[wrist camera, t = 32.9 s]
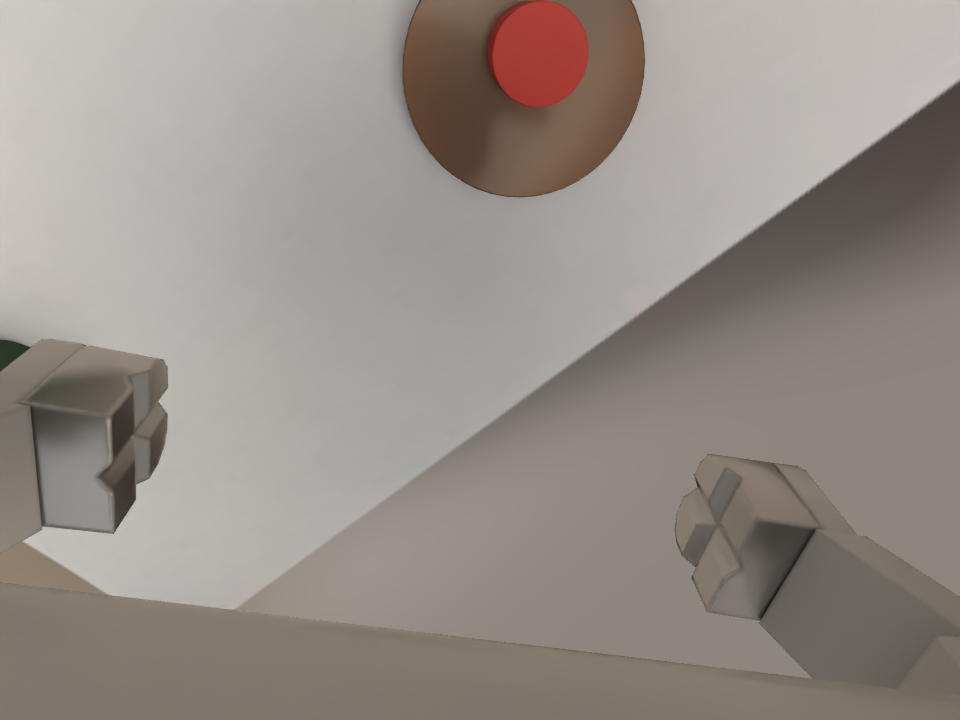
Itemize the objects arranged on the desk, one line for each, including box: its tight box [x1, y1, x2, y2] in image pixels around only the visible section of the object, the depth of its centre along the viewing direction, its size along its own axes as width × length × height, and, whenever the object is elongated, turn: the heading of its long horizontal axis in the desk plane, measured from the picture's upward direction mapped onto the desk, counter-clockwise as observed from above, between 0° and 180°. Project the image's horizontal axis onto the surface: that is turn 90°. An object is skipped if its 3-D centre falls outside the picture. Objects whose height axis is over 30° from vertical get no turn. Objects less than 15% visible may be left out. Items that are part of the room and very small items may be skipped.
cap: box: [487, 1, 589, 107], centre depth 28 cm, size 4×4×3 cm
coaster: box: [403, 0, 645, 197], centre depth 30 cm, size 11×11×1 cm
